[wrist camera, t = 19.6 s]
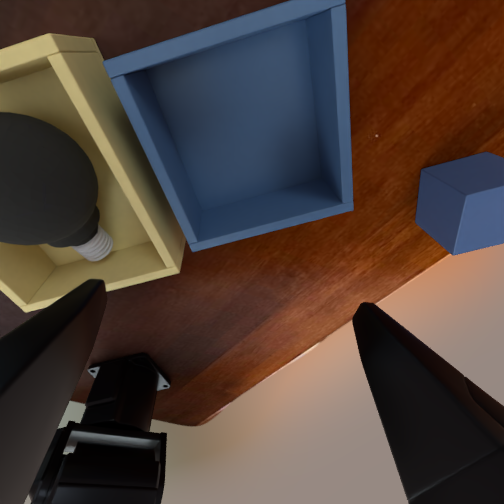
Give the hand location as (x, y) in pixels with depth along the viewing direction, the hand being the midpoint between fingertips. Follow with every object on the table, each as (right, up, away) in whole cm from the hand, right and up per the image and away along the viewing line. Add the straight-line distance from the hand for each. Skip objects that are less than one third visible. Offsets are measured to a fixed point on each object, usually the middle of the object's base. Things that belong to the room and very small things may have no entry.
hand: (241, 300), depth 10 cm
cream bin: (-11, +6, +8) cm, 15 cm away
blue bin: (0, +9, +7) cm, 12 cm away
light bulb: (-11, +6, +8) cm, 15 cm away
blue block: (+15, +6, +11) cm, 19 cm away
